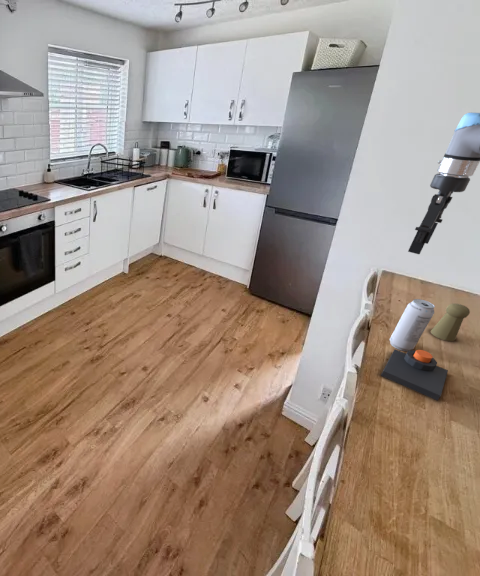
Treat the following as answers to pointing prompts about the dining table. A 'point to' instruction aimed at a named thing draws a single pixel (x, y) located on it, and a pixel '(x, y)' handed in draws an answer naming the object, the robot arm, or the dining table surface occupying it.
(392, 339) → the energy drink can
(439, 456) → the dining table surface
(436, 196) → the robot arm
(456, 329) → the cork
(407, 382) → the scale
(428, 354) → the button
